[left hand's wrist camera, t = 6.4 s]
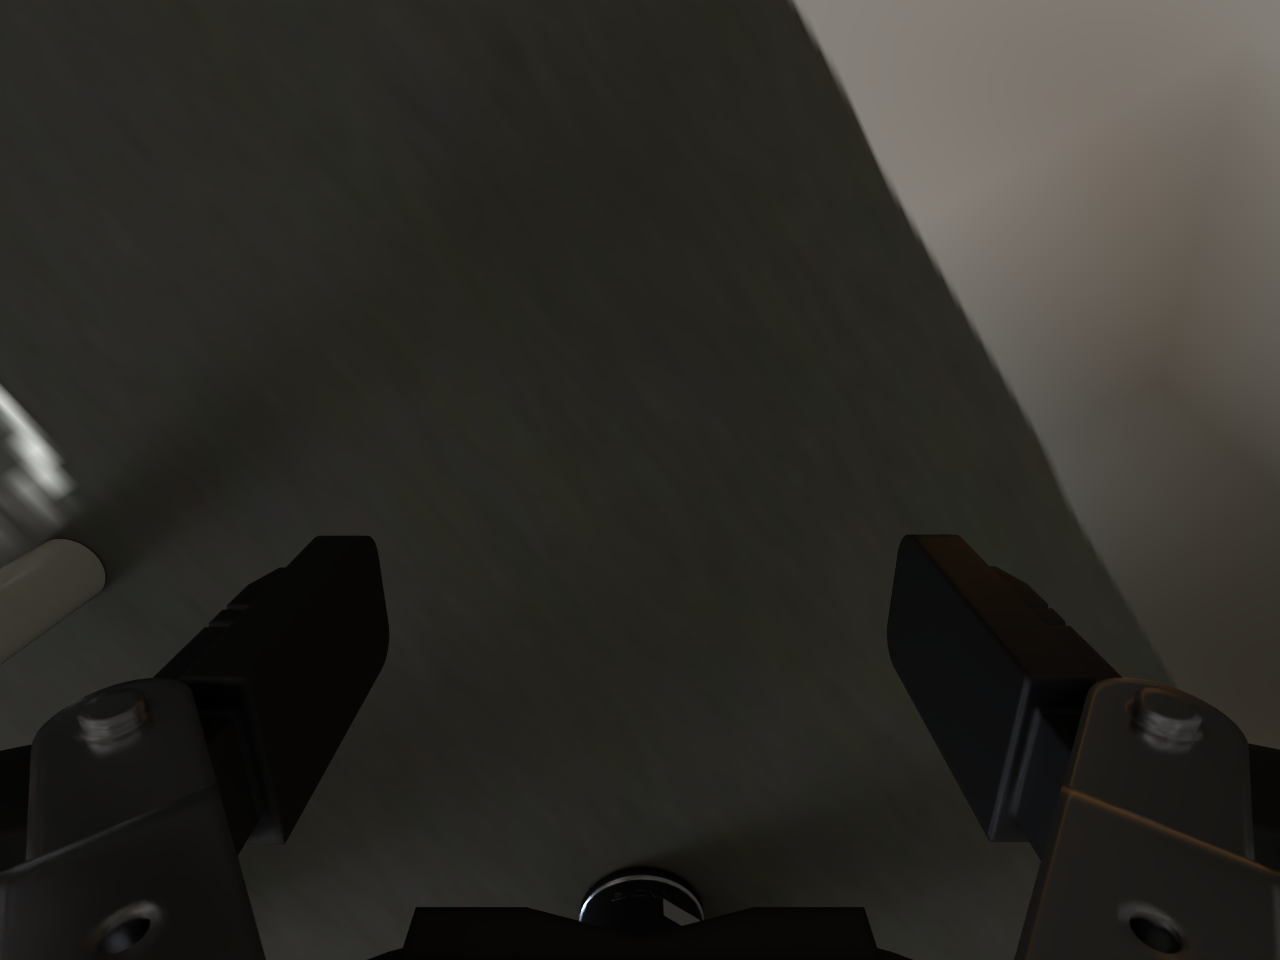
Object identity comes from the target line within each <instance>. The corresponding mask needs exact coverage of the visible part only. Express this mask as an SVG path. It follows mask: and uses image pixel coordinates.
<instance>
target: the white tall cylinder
mask: <svg viewBox="0 0 1280 960" xmlns="http://www.w3.org/2000/svg"><path fill="white" fill-rule="evenodd" d="M105 580H106V575H105V570H104V567H103V565H102V563H101V561H100V560H99V558H98V557H97V556H96V555H95V554H94V553H93V552H92V551H91V550H90V549H88V548H87V547H85V546H84V545H82V544H80V543H77V542H75V541H72V540H67V539H53V540H49V541H46V542H44V543H43V544H41V545H39V546H37V547H36V548H34V549H32V550H30V551H29V552H27V553H25V554H23V555H22V556H20V557H18V558H16V559H15V560H13V561H11V562H9V563H8V564H6V565H4V566H2V567H0V665H1V664H2V663H4V662H5V661H7V660H8V659H9V658H11V657H12V656H14V655H15V654H16V653H18V652H19V651H20V650H22V649H23V648H25V647H26V646H27V645H29V644H30V643H32V642H33V641H34V640H36V639H37V638H38V637H40V636H41V635H43V634H44V633H45V632H47V631H48V630H50V629H51V628H52V627H54V626H55V625H56V624H58V623H59V622H61V621H62V620H63V619H65V618H66V617H67V616H69V615H70V614H72V613H73V612H74V611H76V610H77V609H79V608H80V607H81V606H83V605H84V604H85V603H87V602H88V601H90V600H91V599H92V598H94V597H95V596H97V595H98V594H99V593H100V592H101V591H102V589H103V587H104V585H105Z"/></svg>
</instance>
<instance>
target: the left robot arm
mask: <svg viewBox="0 0 1280 960" xmlns="http://www.w3.org/2000/svg"><path fill="white" fill-rule="evenodd" d="M887 641H888V649H889V654H890V658H891V661H892V664H893V666H894V668H895V670H896V672H897V673H898V675H899V677H900V679H901V681H902V682H903V684H904V686H905V688H906V690H907V692H908V693H909V695H910V697H911V699H912V701H913V703H914V704H915V706H916V708H917V710H918V712H919V714H920V715H921V717H922V719H923V721H924V723H925V724H926V726H927V728H928V730H929V732H930V734H931V735H932V737H933V739H934V741H935V743H936V745H937V746H938V748H939V750H940V752H941V754H942V756H943V757H944V759H945V761H946V763H947V765H948V766H949V768H950V770H951V772H952V774H953V776H954V777H955V779H956V781H957V783H958V785H959V787H960V788H961V790H962V792H963V794H964V796H965V798H966V799H967V801H968V803H969V805H970V807H971V808H972V810H973V812H974V814H975V816H976V818H977V819H978V821H979V823H980V825H981V827H982V829H983V830H984V832H985V834H986V836H987V838H988V840H989V841H990V842H1030V844H1031V845H1032V847H1033V849H1034V850H1035V852H1036V854H1037V855H1038V857H1039V858H1040V860H1041V863H1040V867H1039V871H1038V874H1037V878H1036V882H1035V885H1034V889H1033V893H1032V896H1031V900H1030V903H1029V907H1028V911H1027V914H1026V918H1025V922H1024V925H1023V929H1022V933H1021V936H1020V940H1019V944H1018V947H1017V951H1016V955H1015V958H1014V960H1280V750H1278V749H1273V748H1268V747H1263V746H1258V745H1253V744H1248V742H1247V739H1246V738H1245V736H1244V734H1243V732H1242V731H1241V730H1240V728H1239V727H1238V726H1237V725H1236V724H1235V723H1234V722H1233V721H1232V720H1231V719H1230V718H1229V717H1227V716H1226V715H1225V714H1223V713H1222V712H1221V711H1219V710H1218V709H1216V708H1215V707H1213V706H1212V705H1210V704H1208V703H1207V702H1205V701H1203V700H1201V699H1199V698H1197V697H1195V696H1193V695H1191V694H1188V693H1186V692H1184V691H1182V690H1179V689H1176V688H1173V687H1170V686H1167V685H1164V684H1160V683H1157V682H1152V681H1147V680H1142V679H1134V678H1122V677H1121V676H1120V675H1119V674H1118V673H1117V672H1116V671H1115V670H1114V669H1113V668H1112V667H1111V666H1110V665H1109V664H1108V663H1107V662H1106V661H1105V660H1104V659H1103V658H1102V657H1101V656H1100V655H1099V654H1098V653H1097V652H1096V651H1095V650H1094V649H1093V648H1092V647H1091V646H1090V645H1089V644H1088V643H1087V642H1086V641H1085V640H1084V639H1083V638H1082V637H1081V636H1080V635H1079V634H1078V633H1077V632H1076V631H1075V630H1074V629H1073V628H1072V627H1071V626H1066V625H1065V621H1064V620H1063V619H1062V618H1061V617H1060V616H1059V615H1058V614H1057V613H1056V612H1055V611H1054V610H1053V609H1052V608H1048V604H1047V603H1046V602H1045V601H1044V600H1043V599H1042V598H1041V597H1040V596H1039V595H1038V594H1037V593H1036V592H1035V591H1034V590H1033V589H1032V588H1031V587H1030V586H1029V585H1028V584H1027V583H1025V582H1023V581H1021V580H1019V579H1018V578H1016V577H1014V576H1012V575H1010V574H1008V573H1007V572H1005V571H1003V570H1001V569H999V568H998V567H996V566H988V564H987V563H986V562H985V561H984V560H983V559H982V558H981V557H980V556H979V555H978V554H977V553H976V552H975V551H974V550H973V549H972V548H971V547H970V546H969V545H968V544H967V543H966V542H965V541H964V540H963V538H961V537H960V536H959V535H906V536H904V537H903V539H902V540H901V543H900V546H899V550H898V555H897V562H896V569H895V576H894V583H893V590H892V597H891V603H890V610H889V617H888V625H887ZM388 645H389V624H388V617H387V610H386V604H385V597H384V590H383V583H382V577H381V570H380V563H379V556H378V551H377V547H376V544H375V542H374V540H373V539H372V538H371V537H370V536H317V537H315V538H314V539H313V540H312V541H311V542H310V543H309V544H308V545H307V546H306V547H305V548H304V549H303V550H302V551H301V552H300V554H299V555H298V556H297V557H296V558H295V559H294V560H293V561H292V562H291V563H290V564H289V565H288V566H287V567H286V568H278V569H276V570H275V571H273V572H271V573H269V574H267V575H266V576H264V577H262V578H260V579H258V580H256V581H255V582H253V583H251V584H249V585H248V586H247V587H246V588H245V589H243V590H242V591H241V592H240V593H239V594H238V595H237V596H236V597H235V598H234V599H233V600H232V601H231V602H230V603H229V604H228V605H227V610H222V611H221V612H220V613H219V614H218V615H217V616H216V617H215V618H214V619H213V620H212V621H211V622H210V623H209V627H204V628H203V629H202V630H201V631H200V632H199V633H198V634H197V635H196V636H195V637H194V638H193V639H192V640H191V641H190V642H189V643H188V644H187V645H186V646H185V647H184V648H183V649H182V650H181V651H180V652H179V653H178V654H177V655H176V656H175V657H174V658H173V659H172V660H171V661H170V662H169V663H168V664H166V665H165V666H164V667H163V668H162V669H161V670H160V671H159V672H158V673H157V674H156V675H155V676H154V677H153V678H146V679H138V680H133V681H128V682H123V683H120V684H116V685H113V686H110V687H107V688H104V689H101V690H98V691H96V692H94V693H92V694H89V695H87V696H85V697H83V698H81V699H79V700H77V701H75V702H73V703H72V704H70V705H68V706H67V707H65V708H64V709H62V710H61V711H59V712H58V713H57V714H55V715H54V716H53V717H51V718H50V719H49V720H48V721H47V722H46V723H45V724H44V725H43V726H42V727H41V728H40V730H39V731H38V732H37V734H36V736H35V737H34V739H33V742H32V745H27V746H22V747H17V748H12V749H7V750H2V751H0V960H266V958H265V955H264V951H263V947H262V944H261V940H260V936H259V933H258V929H257V925H256V922H255V918H254V914H253V911H252V907H251V903H250V900H249V896H248V893H247V889H246V885H245V882H244V878H243V874H242V871H241V867H240V863H239V860H238V854H239V852H240V851H241V849H242V848H243V846H244V844H285V843H286V841H287V839H288V837H289V835H290V834H291V832H292V830H293V828H294V826H295V825H296V823H297V821H298V819H299V817H300V816H301V814H302V812H303V810H304V808H305V807H306V805H307V803H308V801H309V799H310V798H311V796H312V794H313V792H314V790H315V789H316V787H317V785H318V783H319V781H320V779H321V778H322V776H323V774H324V772H325V770H326V769H327V767H328V765H329V763H330V761H331V760H332V758H333V756H334V754H335V752H336V751H337V749H338V747H339V745H340V743H341V742H342V740H343V738H344V736H345V734H346V733H347V731H348V729H349V727H350V725H351V724H352V722H353V720H354V718H355V716H356V715H357V713H358V711H359V709H360V707H361V706H362V704H363V702H364V700H365V698H366V697H367V695H368V693H369V691H370V689H371V687H372V686H373V684H374V682H375V680H376V678H377V677H378V675H379V673H380V671H381V669H382V667H383V665H384V663H385V660H386V656H387V651H388ZM368 960H912V959H909V958H907V957H904V956H901V955H899V954H896V953H893V952H890V951H886V950H883V949H879V948H877V946H876V943H875V940H874V937H873V934H872V931H871V927H870V924H869V921H868V918H867V915H866V912H865V909H864V907H753V908H749V909H745V910H741V911H738V912H734V913H730V914H726V915H722V916H718V917H714V918H710V919H706V920H704V912H703V905H702V902H701V900H700V897H699V896H698V894H697V893H696V891H695V890H694V889H693V888H692V887H691V886H690V885H689V884H688V883H686V882H685V881H683V880H682V879H680V878H678V877H676V876H674V875H672V874H669V873H666V872H662V871H657V870H651V869H633V870H626V871H622V872H618V873H615V874H612V875H610V876H607V877H605V878H604V879H602V880H600V881H599V882H597V883H596V884H595V885H594V886H593V887H592V888H591V889H590V890H589V891H588V892H587V893H586V895H585V897H584V899H583V901H582V904H581V908H580V918H579V921H578V920H574V919H570V918H566V917H562V916H558V915H554V914H550V913H546V912H542V911H539V910H535V909H531V908H527V907H416V909H415V912H414V915H413V918H412V921H411V924H410V927H409V931H408V934H407V937H406V940H405V943H404V946H403V948H401V949H397V950H394V951H390V952H387V953H384V954H381V955H379V956H376V957H373V958H371V959H368Z"/></svg>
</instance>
